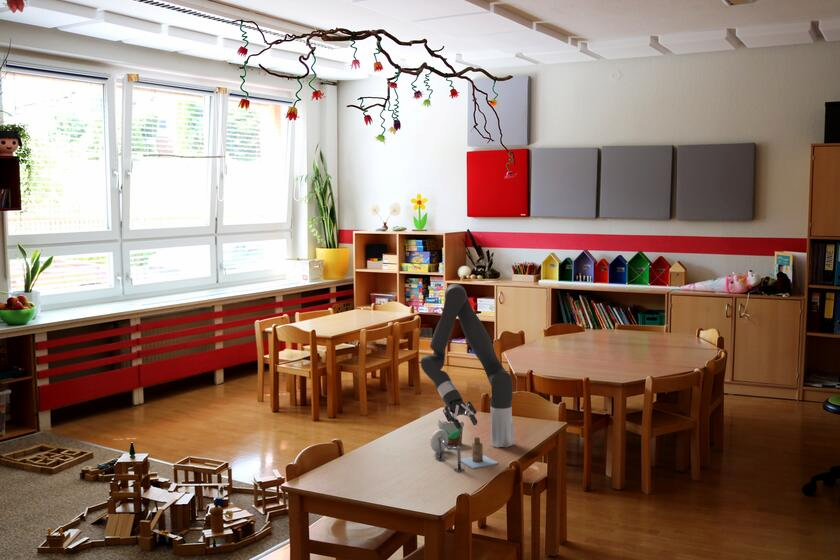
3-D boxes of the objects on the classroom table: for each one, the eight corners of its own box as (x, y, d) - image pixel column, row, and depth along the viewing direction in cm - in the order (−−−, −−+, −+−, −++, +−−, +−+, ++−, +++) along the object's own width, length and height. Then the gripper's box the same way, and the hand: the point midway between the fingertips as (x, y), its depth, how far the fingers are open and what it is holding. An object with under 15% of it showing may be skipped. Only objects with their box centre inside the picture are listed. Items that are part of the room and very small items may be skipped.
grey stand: (441, 458, 330) (441, 435, 329) (464, 471, 313) (463, 446, 312) (435, 459, 328) (434, 436, 327) (457, 472, 311) (457, 448, 310)
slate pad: (482, 456, 331) (482, 454, 331) (498, 463, 320) (498, 462, 320) (457, 460, 325) (457, 459, 325) (472, 469, 315) (472, 467, 315)
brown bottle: (479, 458, 326) (479, 436, 325) (484, 461, 322) (484, 438, 321) (470, 460, 324) (470, 437, 323) (475, 463, 320) (475, 440, 319)
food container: (433, 444, 348) (433, 422, 347) (438, 441, 354) (438, 419, 353) (460, 447, 343) (459, 424, 343) (464, 443, 349) (464, 421, 348)
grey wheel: (435, 455, 333) (434, 432, 332) (429, 454, 335) (428, 431, 334) (450, 450, 340) (449, 427, 339) (443, 448, 342) (443, 426, 342)
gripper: (440, 391, 328) (458, 424, 320) (466, 386, 336) (485, 417, 328) (432, 402, 333) (450, 434, 324) (458, 396, 341) (477, 427, 333)
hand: (468, 426), depth 326 cm, fingers open, 8 cm apart
